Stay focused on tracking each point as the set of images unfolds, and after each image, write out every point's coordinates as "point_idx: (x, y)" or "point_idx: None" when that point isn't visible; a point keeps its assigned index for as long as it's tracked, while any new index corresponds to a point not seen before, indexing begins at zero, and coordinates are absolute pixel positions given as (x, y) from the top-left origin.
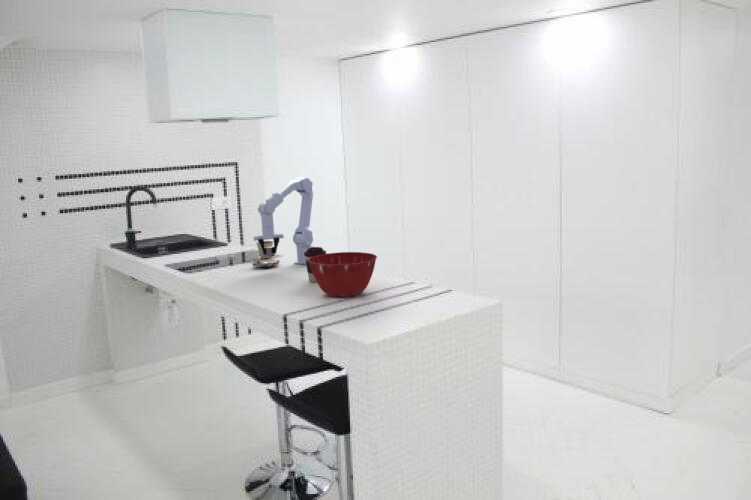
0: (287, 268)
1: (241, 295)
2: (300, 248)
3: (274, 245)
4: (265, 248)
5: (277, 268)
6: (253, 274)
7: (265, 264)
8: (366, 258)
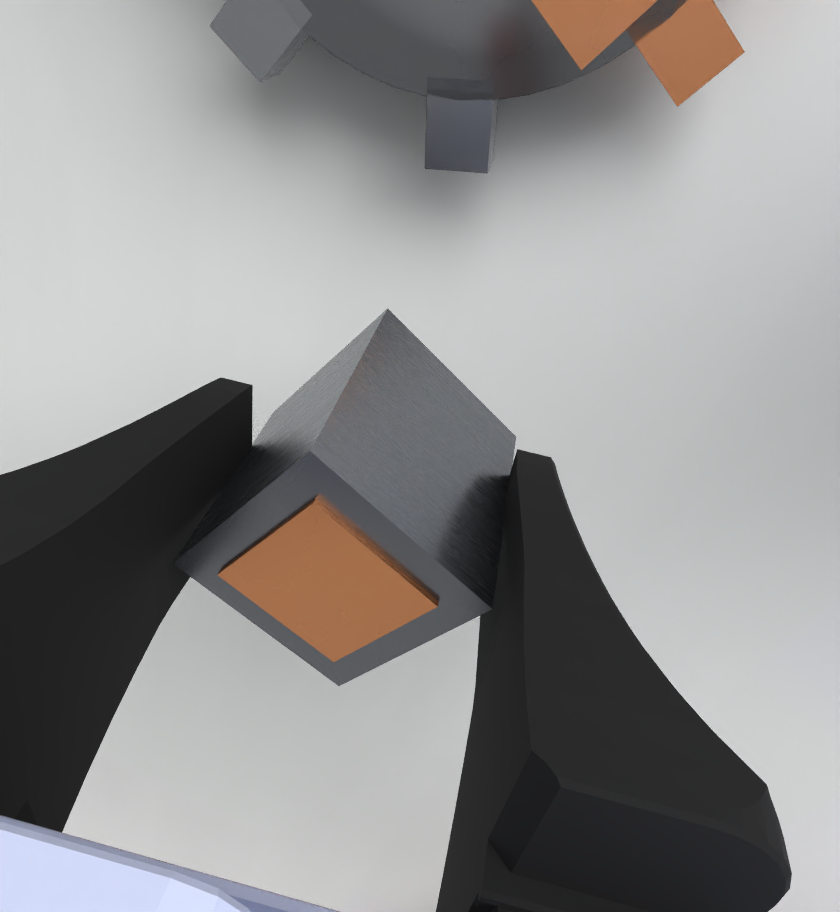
0: (746, 339)
1: (71, 833)
2: None
3: (493, 669)
4: (206, 573)
5: (608, 209)
6: (151, 379)
7: (386, 79)
8: None
